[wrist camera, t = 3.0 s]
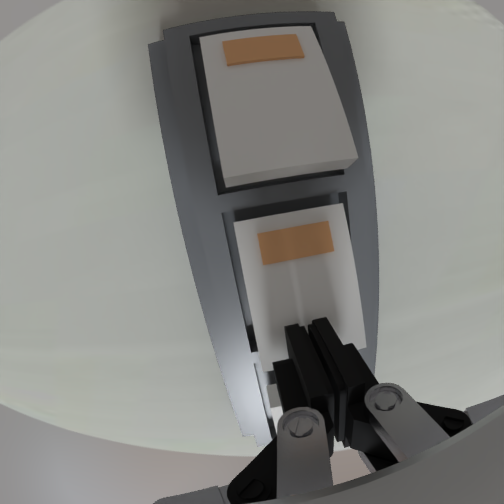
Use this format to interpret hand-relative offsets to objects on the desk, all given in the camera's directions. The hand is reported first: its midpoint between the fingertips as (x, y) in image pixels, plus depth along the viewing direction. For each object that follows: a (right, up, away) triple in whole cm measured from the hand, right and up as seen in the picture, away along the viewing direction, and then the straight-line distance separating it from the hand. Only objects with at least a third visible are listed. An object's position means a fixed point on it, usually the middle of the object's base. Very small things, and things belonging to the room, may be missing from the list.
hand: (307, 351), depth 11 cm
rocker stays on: (-1, +9, -2) cm, 10 cm away
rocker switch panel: (-1, +4, +5) cm, 6 cm away
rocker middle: (0, +2, +1) cm, 3 cm away
